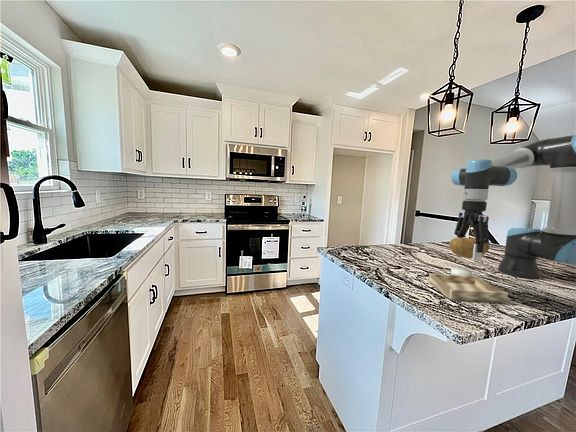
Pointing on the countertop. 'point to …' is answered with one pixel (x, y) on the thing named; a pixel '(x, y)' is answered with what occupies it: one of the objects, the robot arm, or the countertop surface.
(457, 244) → the potato
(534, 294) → the countertop surface
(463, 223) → the robot arm
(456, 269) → the white rounded piece
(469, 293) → the tray
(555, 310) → the countertop surface
